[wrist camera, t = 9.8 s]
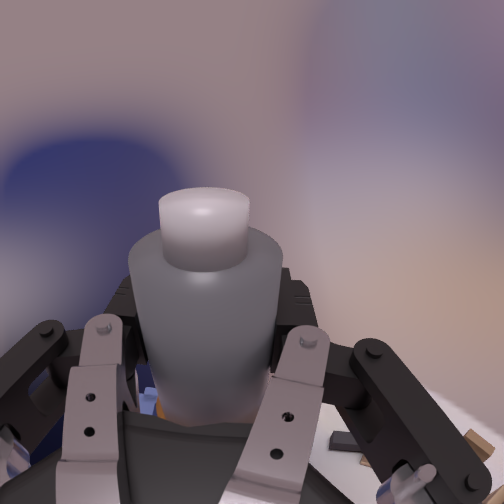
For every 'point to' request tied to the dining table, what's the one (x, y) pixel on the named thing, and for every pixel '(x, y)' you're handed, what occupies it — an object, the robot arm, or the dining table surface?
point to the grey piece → (207, 306)
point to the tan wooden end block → (495, 497)
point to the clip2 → (479, 445)
